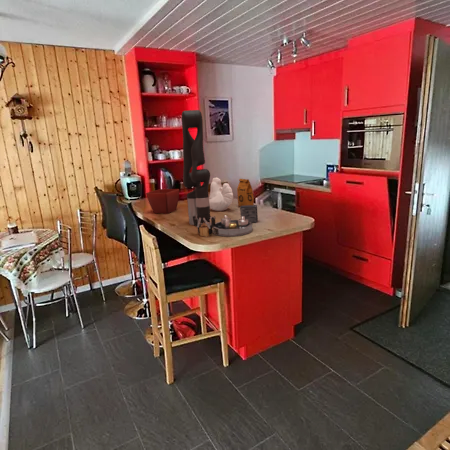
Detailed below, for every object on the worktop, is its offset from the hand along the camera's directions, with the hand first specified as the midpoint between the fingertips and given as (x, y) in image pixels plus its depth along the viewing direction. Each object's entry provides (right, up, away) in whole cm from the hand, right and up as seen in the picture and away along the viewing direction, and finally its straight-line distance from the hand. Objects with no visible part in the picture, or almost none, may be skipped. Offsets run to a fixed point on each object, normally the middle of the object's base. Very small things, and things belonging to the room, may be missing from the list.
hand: (205, 233), depth 194 cm
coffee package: (+28, +19, +72) cm, 80 cm away
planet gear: (0, -1, 0) cm, 1 cm away
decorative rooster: (+9, +16, +64) cm, 66 cm away
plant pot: (-36, +15, +73) cm, 83 cm away
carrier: (+16, +2, +5) cm, 17 cm away
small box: (+27, +7, +25) cm, 37 cm away
